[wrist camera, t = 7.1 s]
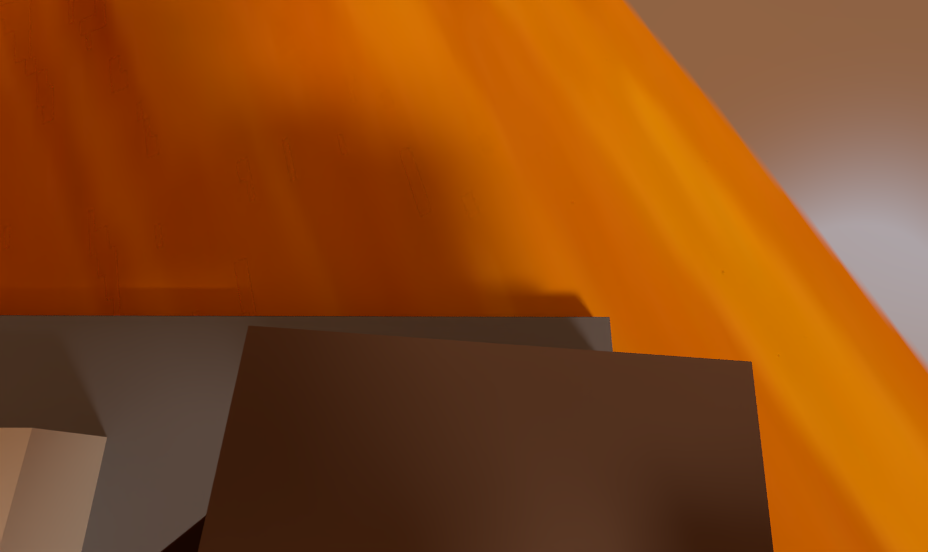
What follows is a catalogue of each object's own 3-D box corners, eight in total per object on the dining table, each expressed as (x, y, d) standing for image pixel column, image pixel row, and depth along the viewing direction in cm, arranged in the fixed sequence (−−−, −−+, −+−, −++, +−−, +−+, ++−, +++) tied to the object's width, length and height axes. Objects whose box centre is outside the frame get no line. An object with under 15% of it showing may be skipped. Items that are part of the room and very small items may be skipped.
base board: (-192, 763, 14) (-438, 868, 11) (-43, 325, 19) (-178, 283, 15) (639, 768, 14) (704, 875, 10) (600, 327, 19) (636, 286, 15)
